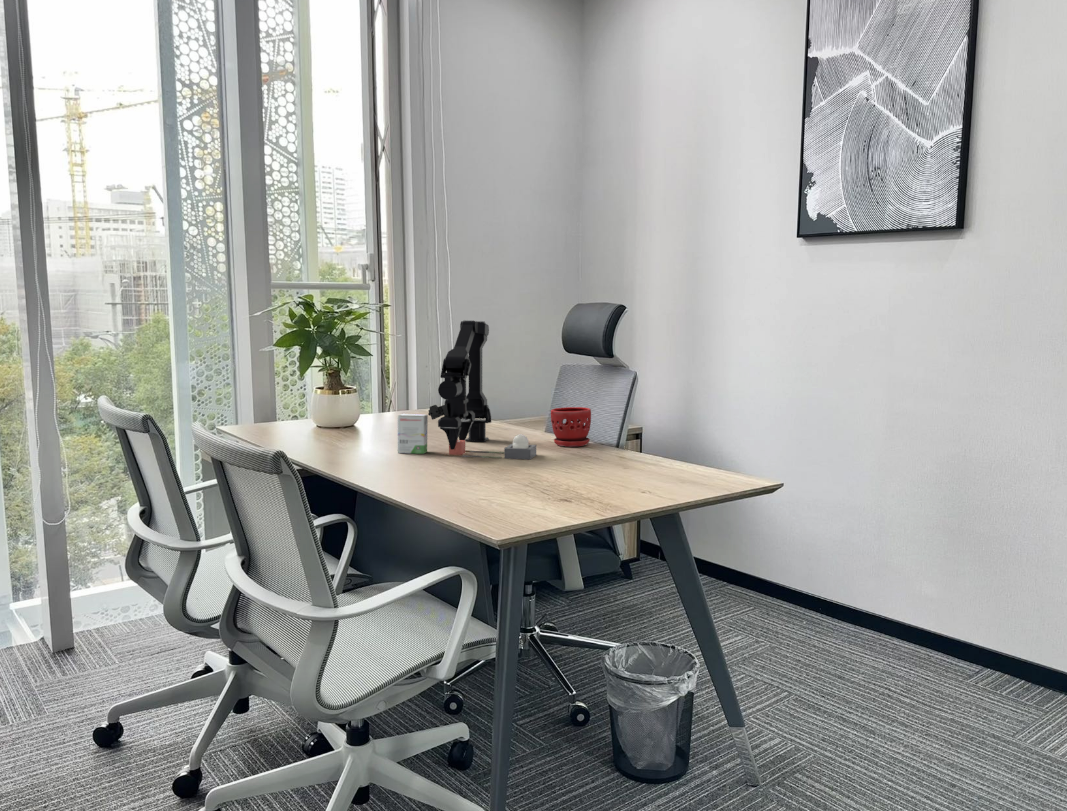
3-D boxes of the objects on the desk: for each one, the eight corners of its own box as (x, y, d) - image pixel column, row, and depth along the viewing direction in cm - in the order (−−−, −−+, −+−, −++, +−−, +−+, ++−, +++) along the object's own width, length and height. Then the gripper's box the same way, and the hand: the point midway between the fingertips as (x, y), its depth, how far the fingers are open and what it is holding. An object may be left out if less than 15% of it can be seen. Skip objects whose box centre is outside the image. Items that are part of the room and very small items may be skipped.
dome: (514, 453, 263) (514, 432, 262) (530, 454, 262) (530, 433, 261) (510, 456, 259) (510, 435, 258) (526, 456, 258) (526, 435, 257)
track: (452, 450, 270) (452, 449, 270) (508, 453, 266) (508, 452, 266) (443, 455, 261) (443, 454, 261) (500, 458, 257) (500, 457, 257)
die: (452, 452, 267) (452, 438, 267) (465, 453, 266) (465, 439, 266) (448, 454, 263) (448, 440, 263) (461, 455, 262) (461, 441, 262)
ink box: (397, 453, 265) (396, 415, 263) (401, 450, 270) (400, 413, 268) (424, 454, 264) (424, 415, 262) (428, 451, 269) (428, 413, 268)
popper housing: (510, 453, 265) (510, 443, 265) (536, 454, 263) (536, 445, 263) (504, 458, 257) (504, 448, 257) (530, 459, 256) (530, 449, 255)
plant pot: (588, 441, 288) (589, 405, 286) (592, 448, 275) (593, 411, 273) (549, 441, 288) (549, 406, 286) (551, 448, 275) (551, 411, 273)
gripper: (441, 392, 273) (442, 440, 275) (421, 398, 255) (421, 450, 257) (475, 393, 271) (475, 442, 273) (457, 399, 253) (457, 452, 255)
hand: (457, 446), depth 265 cm, fingers open, 9 cm apart
